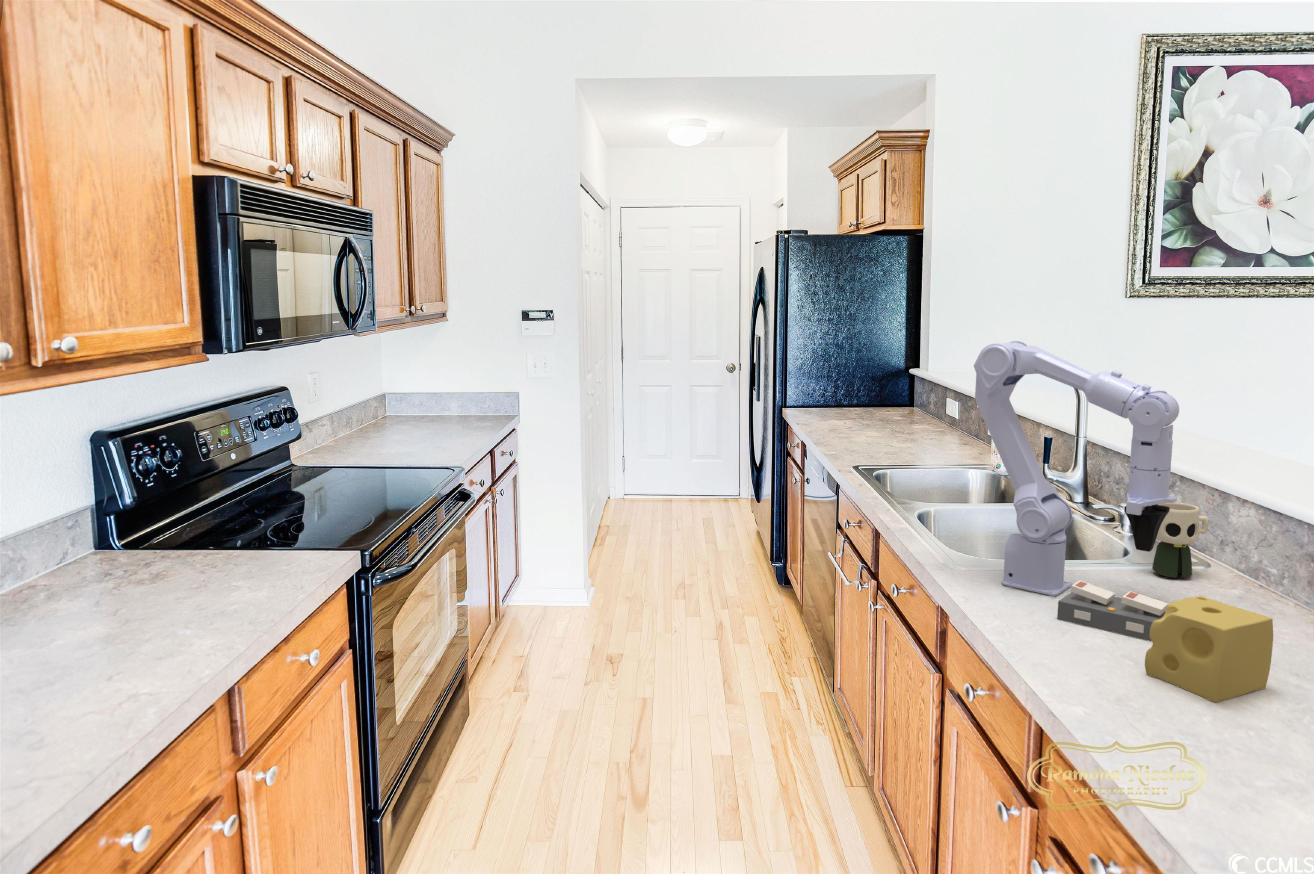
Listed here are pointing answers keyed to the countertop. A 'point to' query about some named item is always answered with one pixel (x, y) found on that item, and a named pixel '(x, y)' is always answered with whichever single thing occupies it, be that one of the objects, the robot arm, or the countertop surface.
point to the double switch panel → (1107, 615)
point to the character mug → (1178, 539)
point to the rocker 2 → (1144, 603)
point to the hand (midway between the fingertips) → (1143, 549)
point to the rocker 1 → (1092, 592)
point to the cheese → (1211, 648)
